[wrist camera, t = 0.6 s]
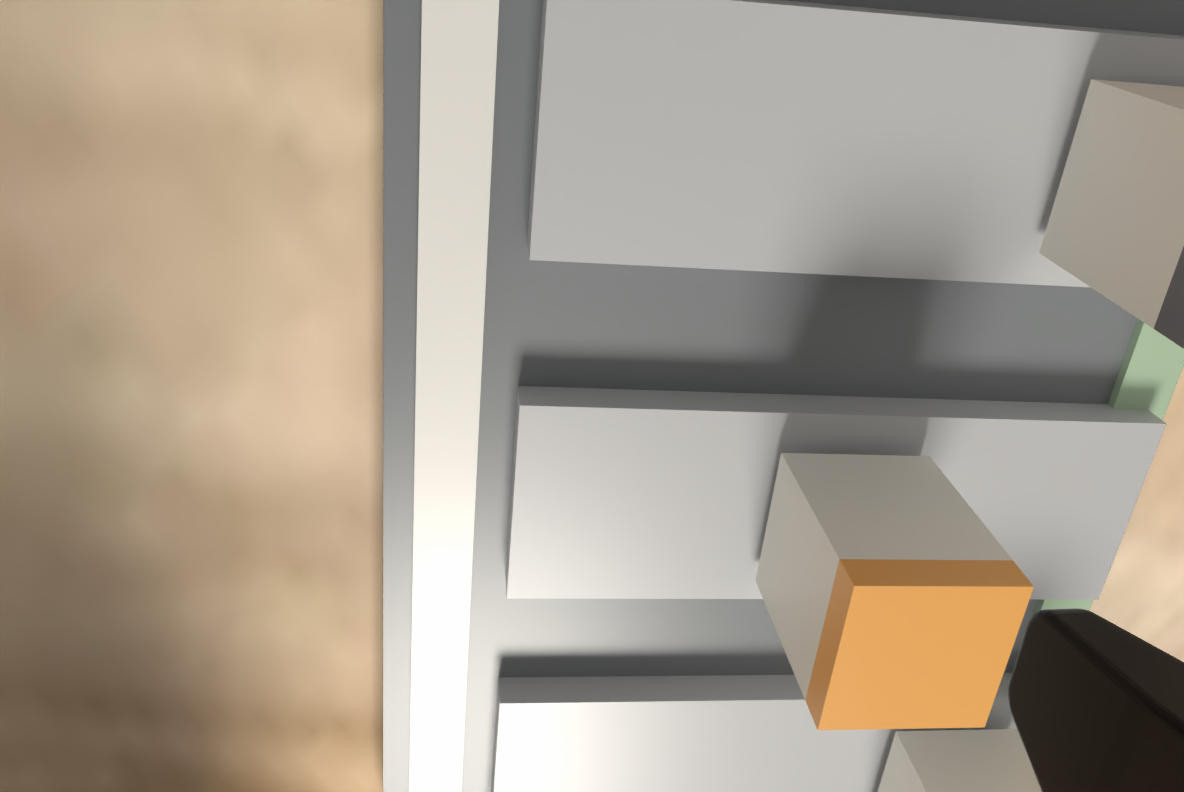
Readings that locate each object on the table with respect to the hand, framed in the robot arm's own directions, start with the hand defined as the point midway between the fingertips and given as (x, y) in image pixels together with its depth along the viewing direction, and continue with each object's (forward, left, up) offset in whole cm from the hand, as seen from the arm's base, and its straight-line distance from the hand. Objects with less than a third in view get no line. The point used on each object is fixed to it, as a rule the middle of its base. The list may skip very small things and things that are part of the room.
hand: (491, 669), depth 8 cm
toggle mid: (-5, -7, -10) cm, 14 cm away
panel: (-5, -6, -13) cm, 15 cm away
